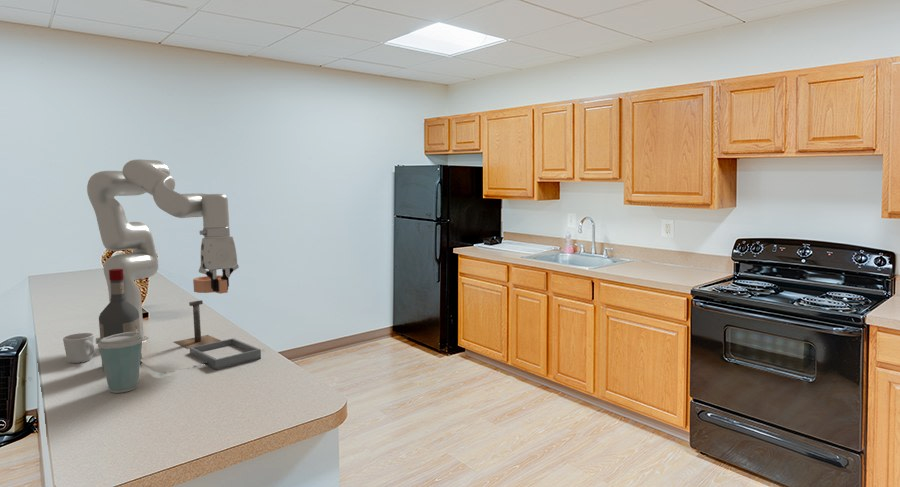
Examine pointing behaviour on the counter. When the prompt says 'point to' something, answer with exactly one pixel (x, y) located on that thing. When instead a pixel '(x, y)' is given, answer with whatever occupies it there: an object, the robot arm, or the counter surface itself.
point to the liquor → (118, 310)
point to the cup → (79, 347)
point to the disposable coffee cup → (121, 360)
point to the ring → (209, 285)
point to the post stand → (196, 330)
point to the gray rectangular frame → (230, 360)
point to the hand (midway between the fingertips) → (220, 289)
